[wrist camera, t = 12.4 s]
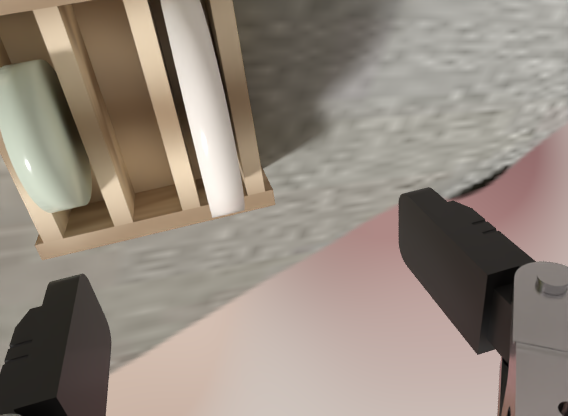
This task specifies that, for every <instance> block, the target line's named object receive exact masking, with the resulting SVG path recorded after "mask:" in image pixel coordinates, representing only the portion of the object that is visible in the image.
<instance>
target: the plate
mask: <svg viewBox="0 0 568 416" xmlns="http://www.w3.org/2000/svg"><path fill="white" fill-rule="evenodd" d="M160 1H161V6H162V11H163V15H164V20H165V24H166V28H167V33H168V37H169V41H170V46H171V50H172V54H173V59H174V63H175V67H176V71H177V75H178V80H179V84H180V88H181V92H182V97H183V101H184V105H185V109H186V113H187V117H188V122H189V126H190V130H191V134H192V138H193V142H194V146H195V151H196V155H197V159H198V163H199V167H200V171H201V175H202V179H203V183H204V187H205V191H206V195H207V199H208V203H209V207H210V211H211V214H212V218H214V217H218V216H223V215H227V214H231V213H235V212H240V211H244V209H245V203H244V194H243V186H242V180H241V174H240V168H239V162H238V157H237V152H236V147H235V141H234V136H233V132H232V127H231V122H230V117H229V112H228V108H227V103H226V99H225V94H224V90H223V85H222V81H221V77H220V73H219V68H218V64H217V60H216V56H215V52H214V48H213V44H212V41H211V37H210V33H209V29H208V26H207V22H206V19H205V15H204V12H203V9H202V5H201V2H200V0H160Z"/></svg>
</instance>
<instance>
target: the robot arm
mask: <svg viewBox="0 0 568 416" xmlns="http://www.w3.org/2000/svg"><path fill="white" fill-rule="evenodd" d="M399 248H400V252H401V255H402V258H403V260H404V262H405V264H406V265H407V267H408V268H409V269H410V270H411V272H412V273H413V274H414V275H415V277H416V278H417V279H418V280H419V282H420V283H421V284H422V285H423V286H424V288H425V289H426V290H427V292H428V293H429V294H430V295H431V297H432V298H433V299H434V300H435V302H436V303H437V304H438V305H439V307H440V308H441V309H442V311H443V312H444V313H445V314H446V316H447V317H448V318H449V319H450V321H451V322H452V323H453V324H454V326H455V327H456V328H457V329H458V331H459V332H460V333H461V335H462V336H463V337H464V338H465V340H466V341H467V342H468V343H469V345H470V346H471V347H472V348H473V350H474V351H475V352H476V353H477V355H478V354H482V353H485V352H488V351H491V350H494V349H496V350H497V352H498V353H499V354H500V355H501V362H500V373H499V393H498V413H497V416H568V267H567V266H565V265H562V264H558V263H553V262H536V261H534V260H533V259H532V258H531V257H529V256H528V255H527V254H526V253H525V252H524V251H522V250H521V249H520V248H519V247H518V246H516V245H515V244H514V243H513V242H511V241H510V240H509V239H508V238H507V237H506V236H504V235H503V234H502V233H501V232H500V231H496V228H495V227H493V226H492V225H491V224H490V223H489V222H486V221H485V219H484V218H483V217H482V216H480V215H479V214H478V213H477V212H475V211H474V210H473V209H472V208H470V207H467V206H465V205H462V204H460V203H458V202H455V201H449V202H447V201H446V200H444V199H443V198H442V197H441V196H440V195H439V194H438V193H437V192H435V191H434V190H433V189H432V188H429V187H428V188H424V189H420V190H416V191H412V192H408V193H404V194H401V196H400V198H399ZM110 355H111V335H110V330H109V326H108V323H107V320H106V318H105V315H104V313H103V311H102V309H101V306H100V304H99V302H98V300H97V298H96V295H95V293H94V291H93V289H92V287H91V284H90V282H89V280H88V278H87V277H86V276H85V275H84V274H79V275H75V276H72V277H68V278H64V279H60V280H56V281H52V282H50V283H49V284H48V286H47V290H46V294H45V297H44V301H43V304H42V306H40V307H36V308H32V309H30V310H29V311H28V312H27V314H26V315H25V316H24V317H23V319H22V320H21V321H20V322H19V324H18V325H17V326H16V327H15V330H14V333H13V336H12V340H11V343H10V349H8V352H7V355H6V358H5V365H3V367H2V370H1V373H0V416H106V403H107V391H108V379H109V367H110Z"/></svg>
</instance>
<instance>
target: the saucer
mask: <svg viewBox="0 0 568 416" xmlns="http://www.w3.org/2000/svg"><path fill="white" fill-rule="evenodd" d="M0 130H1V134H2V137H3V141H4V144H5V147H6V150H7V152H8V155H9V158H10V160H11V163H12V165H13V167H14V169H15V172H16V174H17V176H18V178H19V180H20V181H21V183H22V185H23V187H24V188H25V190H26V191H27V193H28V194H29V196H30V197H31V198H32V200H33V201H34V202H35V203H36V204H37V205H38V206H39V207H40V208H41V209H42V210H44V211H46V212H48V213H54V212H58V211H63V210H67V209H72V208H76V207H80V206H85V205H87V204H88V203H89V201H90V198H91V192H92V179H91V169H90V163H89V158H88V155H87V153H86V150H85V147H84V145H83V142H82V139H81V137H80V134H79V131H78V129H77V126H76V124H75V121H74V118H73V116H72V113H71V110H70V108H69V105H68V102H67V100H66V97H65V95H64V92H63V89H62V87H61V84H60V81H59V79H58V76H57V73H56V71H55V70H54V69H53V68H52V66H51V65H50V64H49V63H48V62H46V61H45V60H43V59H38V60H32V61H27V62H21V63H16V64H10V65H5V66H3V67H1V68H0Z"/></svg>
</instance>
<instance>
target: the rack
mask: <svg viewBox="0 0 568 416" xmlns="http://www.w3.org/2000/svg"><path fill="white" fill-rule="evenodd" d="M200 2H201V5H202V9H203V12H204V15H205V19H206V22H207V26H208V29H209V33H210V37H211V41H212V44H213V48H214V52H215V56H216V60H217V64H218V68H219V73H220V77H221V81H222V85H223V90H224V94H225V99H226V103H227V108H228V112H229V117H230V122H231V127H232V132H233V136H234V141H235V147H236V152H237V157H238V162H239V168H240V174H241V180H242V186H243V194H244V203H245V209H244V211H240V212H235V213H231V214H227V215H223V216H218V217H214V218H212V214H211V211H210V207H209V203H208V199H207V195H206V191H205V187H204V183H203V179H202V175H201V171H200V167H199V163H198V159H197V155H196V151H195V146H194V142H193V138H192V134H191V130H190V126H189V122H188V117H187V113H186V109H185V105H184V101H183V97H182V92H181V88H180V84H179V80H178V75H177V71H176V67H175V63H174V59H173V54H172V50H171V46H170V41H169V37H168V33H167V28H166V24H165V20H164V15H163V11H162V6H161V1H160V0H0V68H1V67H3V66H5V65H10V64H16V63H21V62H27V61H32V60H38V59H43V60H45V61H46V62H48V63H49V64H50V65H51V66H52V68H53V69H54V70H55V71H56V73H57V76H58V79H59V81H60V84H61V87H62V89H63V92H64V95H65V97H66V100H67V102H68V105H69V108H70V110H71V113H72V116H73V118H74V121H75V124H76V126H77V129H78V131H79V134H80V137H81V139H82V142H83V145H84V147H85V150H86V153H87V155H88V158H89V163H90V169H91V179H92V192H91V198H90V201H89V203H88V204H87V205H85V206H80V207H76V208H72V209H67V210H63V211H58V212H54V213H48V212H46V211H44V210H42V209H41V208H40V207H39V206H38V205H37V204H36V203H35V202H34V201H33V200H32V198H31V197H30V196H29V194H28V193H27V191H26V190H25V188H24V187H23V185H22V183H21V181H20V180H19V178H18V176H17V174H16V172H15V169H14V167H13V165H12V163H11V160H10V158H9V155H8V152H7V150H6V147H5V144H4V141H3V137H2V134H1V130H0V154H1V156H2V158H3V160H4V162H5V164H6V166H7V168H8V170H9V172H10V174H11V177H12V179H13V181H14V183H15V185H16V187H17V189H18V191H19V193H20V195H21V197H22V199H23V201H24V203H25V206H26V208H27V210H28V212H29V214H30V216H31V218H32V220H33V222H34V224H35V226H36V228H37V230H38V232H39V236H38V238H37V241H36V244H35V247H36V249H37V251H38V253H39V255H40V257H41V259H42V260H45V259H50V258H54V257H58V256H62V255H66V254H71V253H75V252H79V251H83V250H87V249H92V248H96V247H100V246H104V245H108V244H113V243H117V242H121V241H125V240H129V239H134V238H138V237H142V236H146V235H150V234H155V233H159V232H163V231H167V230H171V229H176V228H180V227H184V226H188V225H192V224H197V223H201V222H205V221H209V220H213V219H218V218H222V217H226V216H230V215H234V214H239V213H243V212H247V211H251V210H255V209H259V208H264V207H268V206H272V205H275V200H274V194H273V189H272V187H271V185H270V183H269V181H268V179H267V177H266V175H265V173H264V171H263V169H262V167H261V164H260V158H259V152H258V146H257V140H256V135H255V129H254V123H253V117H252V111H251V105H250V100H249V94H248V88H247V82H246V76H245V71H244V65H243V59H242V53H241V47H240V41H239V36H238V30H237V24H236V18H235V12H234V6H233V1H232V0H200Z"/></svg>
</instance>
